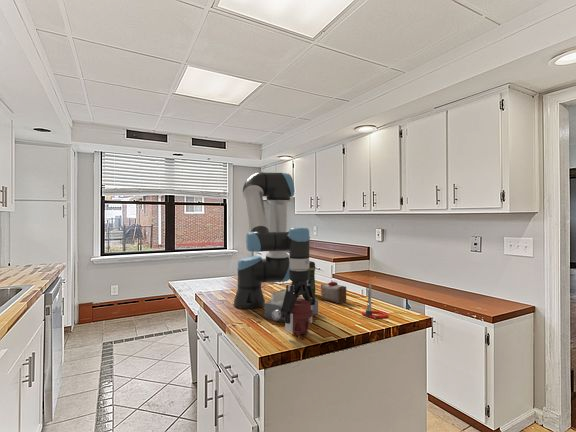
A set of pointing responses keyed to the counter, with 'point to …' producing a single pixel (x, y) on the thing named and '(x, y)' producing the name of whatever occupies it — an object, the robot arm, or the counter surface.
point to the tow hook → (368, 311)
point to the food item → (333, 292)
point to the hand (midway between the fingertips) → (299, 326)
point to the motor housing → (276, 304)
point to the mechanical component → (301, 316)
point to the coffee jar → (312, 274)
